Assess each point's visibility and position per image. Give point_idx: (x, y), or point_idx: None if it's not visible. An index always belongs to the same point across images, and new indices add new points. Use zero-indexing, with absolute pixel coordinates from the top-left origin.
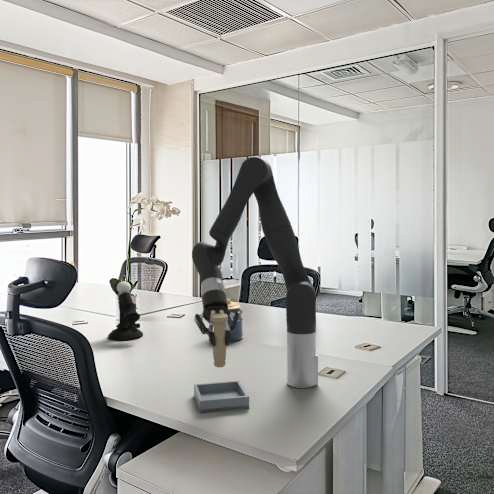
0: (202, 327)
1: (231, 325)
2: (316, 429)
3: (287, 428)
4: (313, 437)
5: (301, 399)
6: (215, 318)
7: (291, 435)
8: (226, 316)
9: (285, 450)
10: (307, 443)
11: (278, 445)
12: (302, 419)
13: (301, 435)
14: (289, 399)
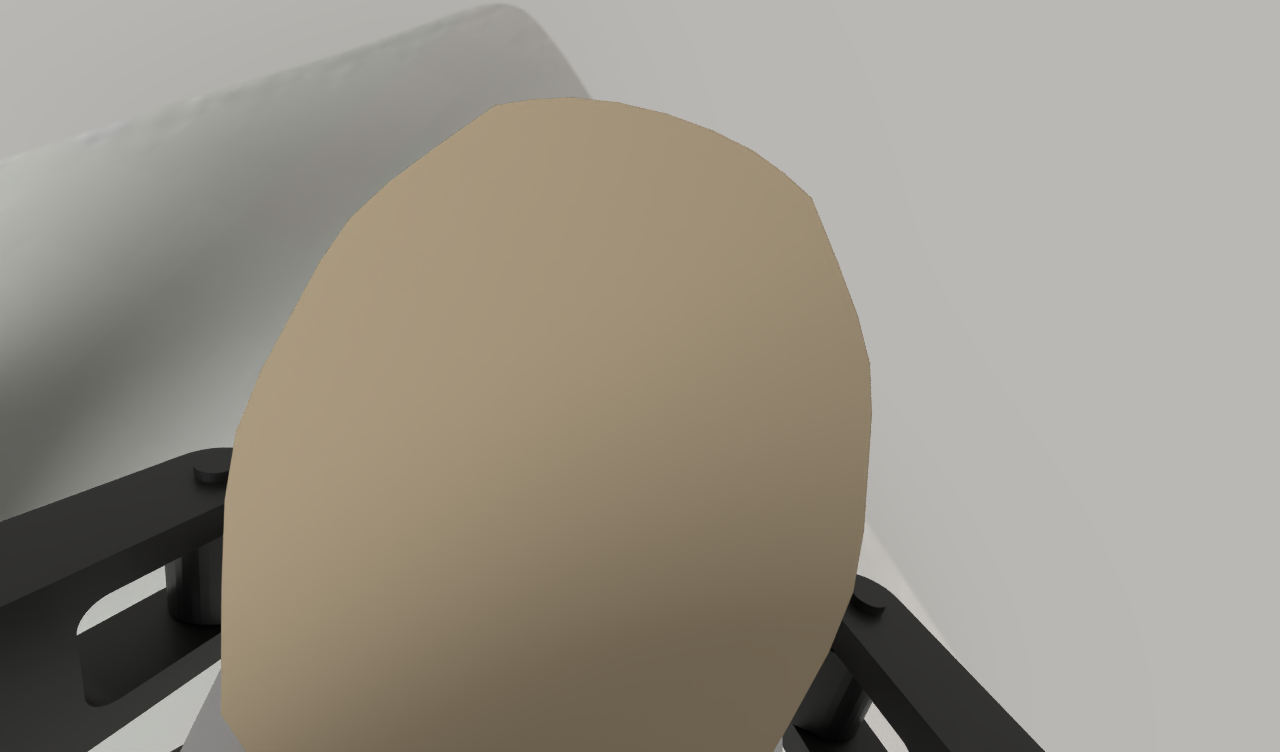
0: (911, 628)
1: None
2: (300, 94)
3: (404, 153)
4: (364, 57)
5: (58, 398)
6: (789, 192)
7: (430, 104)
8: (428, 184)
9: (520, 40)
10: (418, 38)
11: (522, 73)
12: (278, 188)
13: (394, 87)
14: (126, 431)
